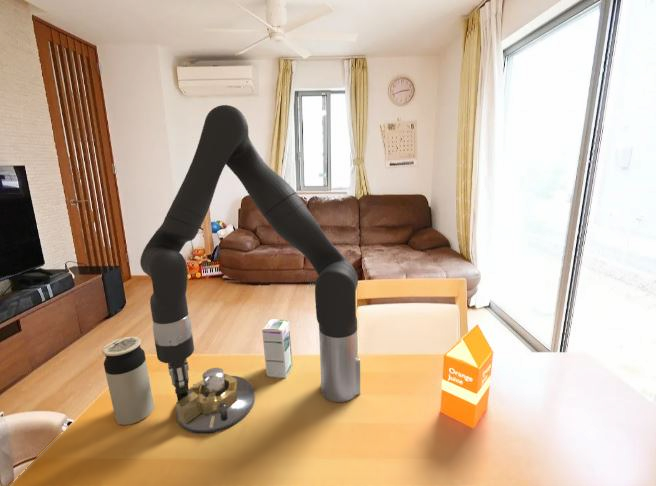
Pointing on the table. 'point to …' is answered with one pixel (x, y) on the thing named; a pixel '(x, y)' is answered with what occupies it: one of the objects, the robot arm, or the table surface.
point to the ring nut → (206, 400)
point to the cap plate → (221, 405)
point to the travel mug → (128, 380)
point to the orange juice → (467, 378)
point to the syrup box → (277, 348)
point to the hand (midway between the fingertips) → (183, 402)
